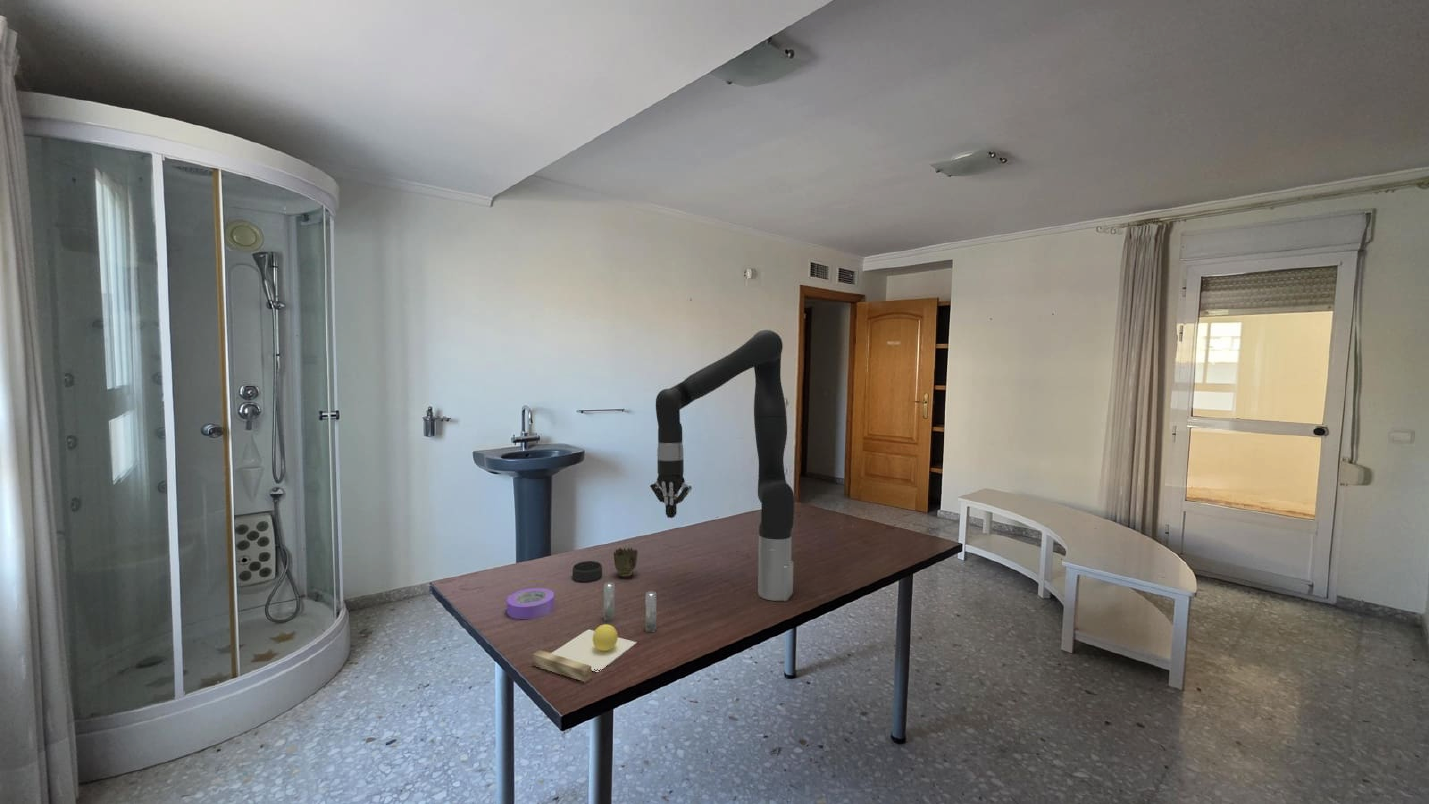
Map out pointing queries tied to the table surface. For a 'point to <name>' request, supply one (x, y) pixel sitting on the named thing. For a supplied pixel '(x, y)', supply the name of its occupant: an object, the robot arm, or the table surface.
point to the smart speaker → (587, 571)
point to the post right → (650, 611)
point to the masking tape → (530, 603)
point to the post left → (609, 601)
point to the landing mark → (592, 651)
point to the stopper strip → (561, 665)
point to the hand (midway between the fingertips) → (671, 517)
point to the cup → (625, 561)
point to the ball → (605, 637)
